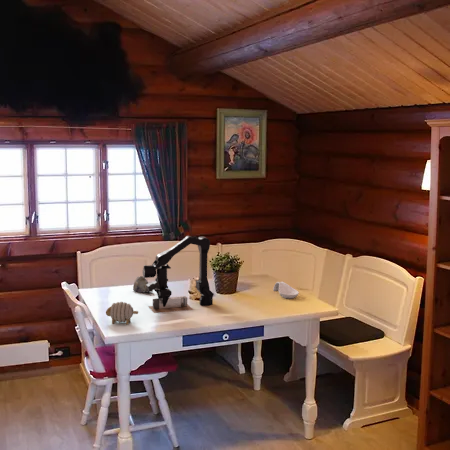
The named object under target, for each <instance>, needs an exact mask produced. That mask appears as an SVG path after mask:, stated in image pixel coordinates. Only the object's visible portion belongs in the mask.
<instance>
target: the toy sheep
mask: <svg viewBox="0 0 450 450" xmlns="http://www.w3.org/2000/svg"><path fill="white" fill-rule="evenodd" d="M138 314H139V311H138V310H134V308H133V307H132V305H131V303H127V302H123V301H120V302H119V301H117V302H113V303H112V304H111V306H109V307H107V308H106V310H105V315H106V316H107V317H111V318H110V319H111V325H115V322H118V323H125V324H126V325H127V324H128V325H129V323H131V318H132V317H133V315H138Z"/></svg>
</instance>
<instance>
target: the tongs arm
mask: <svg viewBox="0 0 450 450" xmlns="http://www.w3.org/2000/svg"><path fill="white" fill-rule="evenodd" d="M180 297H181V298H170V297H169V299H168V301H167V304H166V306H165V307H163V303H162V299H157V298H155V299H156V300H153V299H152V304H153V303H154V309H162V308H174V307H184V297H183V296H180Z"/></svg>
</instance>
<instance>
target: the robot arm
mask: <svg viewBox="0 0 450 450" xmlns="http://www.w3.org/2000/svg"><path fill="white" fill-rule="evenodd" d="M190 245H195V246H197V248H198V252H199V264H198V265H199V268H198V269H199V270H198V271H199V275H198V280H195V288H196V290H197V292H199V293H200V298H199V306H204V307H210V306H212V305H213V304H214V303H213V299H214V298H213V297H214V292H213V291H211V288H210V282H209V280H208V253H209V250H210V248H211V240H210V239H209V238H207V237H206V236H203V235H202V236H191V235H186V236H185V237H184V238H183V239H181V240H180V241H179V242H177V243H175V244H174V245H173V246H172V247H170V248H168V249H166V250H164V251H162V252H159V253H158V254H157V255H156V256H155V260H154V261H153V262H152V263H151V264H149V265H147V264H145V265H144V264H143V267H142V276H143V278H145V279H147V278H148V279H149V278H150V279H151V278H155V279H154V280H153V281H151V282H148V283H149V284H147V285H146V286H147V289H148V290H149V291H152V290H153V291H155V292H156V295H157V298H162V303H163V307H165V306H166V304H167V301H168V299H169V298H170V297H171V296H172V290H171V289H169V285H168V281H169V279H168V270H171V269H172V267H171V266H170V265H169V264H168V263H169V262H170V261H171V260H172V259H173V257H174V256H176V255H177V254H178V253H180V252H181V251H183V250H184V249H185V248H187V247H188V246H190Z"/></svg>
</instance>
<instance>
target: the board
mask: <svg viewBox="0 0 450 450" xmlns="http://www.w3.org/2000/svg"><path fill="white" fill-rule="evenodd" d="M148 308H149V309H150V311H152V313H153V314H157V313H158V314H160V313H169V312H170V313H171V312H182V311H194V309H193V308H192V307H191V306H190V305H189V304H188V303H187V306H186V307H185V306H184V307H174V308H162V309H154V308H153V305H152V306H151V305H150V306H149V305H148Z"/></svg>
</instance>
